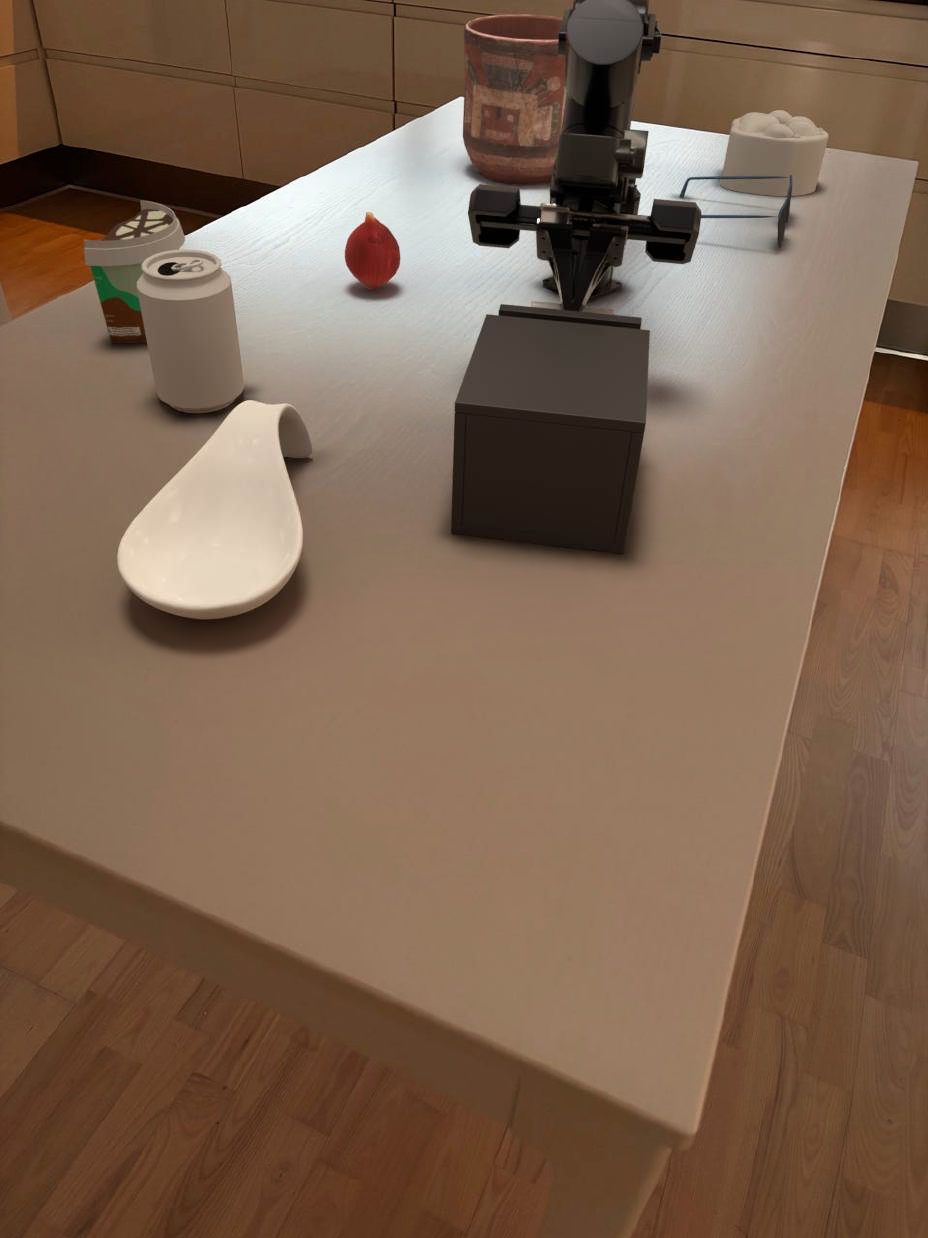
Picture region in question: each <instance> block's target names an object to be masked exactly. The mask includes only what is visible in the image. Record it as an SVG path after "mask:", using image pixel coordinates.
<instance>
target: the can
mask: <svg viewBox="0 0 928 1238" xmlns="http://www.w3.org/2000/svg"><path fill="white" fill-rule="evenodd" d="M142 271H143V272H144V273H143V274H142V276H141V277H140V278H139V280H138V281H137V291H138V296H139V301H140V307H141V312H142V318H143V323H144V328H145V334H146V339H147V342H146V344H147V348H148V355H149V361H150V366H151V371H152V377H153V381H154V387H155V393H156V395H157V397H158V398H159V400H160V401H162V402H164V403H166V404H167V405H169V406H170V407H171V408H173V409H175V410H177V411H178V412H184V413H187V414H206V413H212V412H216V411H220V410H223V409H224V408H225V409H226V408H227V407H229V406H230V405H231V404H233V403H234V402H235V400H236V399H237V398H238V397H239V396H240V395H241V394H242V393H243V391H244V389H245V381H244V374H243V365H242V358H241V349H240V341H239V333H238V325H237V317H236V309H235V301H234V300H235V299H234V291H233V285H232V284H233V283H232V278H231V275H230V274H229V273H228V272H227V271H225V270H224V269H223V268H222V260H221V258H219V257H218V256H217V255H216V254H215V253H211V252H208V251H205V250H199V249H189V248H188V249H187V248H186V249H179V250H171V251H165V252H161V253H158V254H155V255H152V256H151V257H149V258H147V259H146V260H145V261H144V262H143V263H142Z"/></svg>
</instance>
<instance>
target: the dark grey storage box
mask: <svg viewBox="0 0 928 1238" xmlns="http://www.w3.org/2000/svg"><path fill="white" fill-rule="evenodd" d="M650 338H651V330H650V329H642V328H641V329H632V328H622V327H612V326H602V325H591V324H581V323H571V322H561V321H551V320H540V319H530V318H520V317H510V316H500V315H499V314H485V317H484V320H483V323H482V325H481V328H480V331H479V334H478V337H477V340H476V342H475V345H474V347H473V351H472V354H471V356H470V359H469V362H468V365H467V367H466V370H465V373H464V376H463V379H462V382H461V383H460V387H459V390H458V392H457V395H456V398H455V401H454V416H453V417H454V418H453V420H454V421H453V450H452V451H453V452H452V485H451V488H452V489H451V521H450V522H451V524H450V533H451V534H455V535H456V534H457V535H464V536H473V537H480V538H481V537H482V538H489V539H495V540H497V539H498V540H505V541H514V542H521V543H531V544H539V545H547V546H554V547H555V546H556V547H562V548H563V547H564V548H569V549H570V548H571V549H579V550H589V551H597V552H604V553H605V552H606V553H612V554H619V555H623V554H625V548H626V542H627V536H628V532H629V525H630V520H631V513H632V507H633V502H634V495H635V490H636V484H637V478H638V472H639V466H640V461H641V455H642V448H643V444H644V443H643V442H644V437H645V431H646V424H647V410H648V407H647V406H648V385H649V363H650V340H651V339H650Z"/></svg>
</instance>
